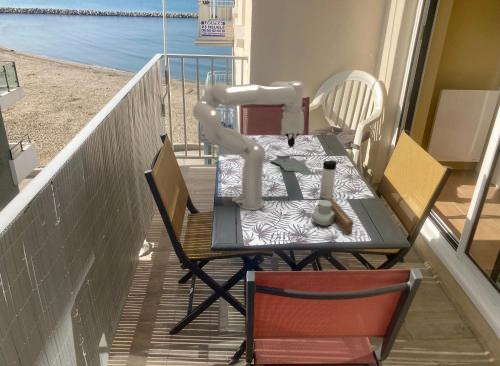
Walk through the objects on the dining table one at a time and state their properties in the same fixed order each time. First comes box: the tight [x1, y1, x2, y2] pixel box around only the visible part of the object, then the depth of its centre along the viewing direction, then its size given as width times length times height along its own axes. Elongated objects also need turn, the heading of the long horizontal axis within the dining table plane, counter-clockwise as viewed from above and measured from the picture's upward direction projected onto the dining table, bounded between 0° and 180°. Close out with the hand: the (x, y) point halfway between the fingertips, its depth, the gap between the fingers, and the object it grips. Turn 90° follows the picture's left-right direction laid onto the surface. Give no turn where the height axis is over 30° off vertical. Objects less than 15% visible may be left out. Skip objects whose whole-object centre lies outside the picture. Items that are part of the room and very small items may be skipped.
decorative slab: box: [270, 157, 315, 176], centre depth 246 cm, size 26×24×2 cm
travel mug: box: [319, 160, 337, 200], centre depth 206 cm, size 6×7×20 cm
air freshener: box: [311, 199, 335, 226], centre depth 186 cm, size 11×8×10 cm
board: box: [326, 197, 354, 235], centre depth 188 cm, size 3×22×6 cm, turn 14°
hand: (290, 145), depth 199 cm, fingers closed
